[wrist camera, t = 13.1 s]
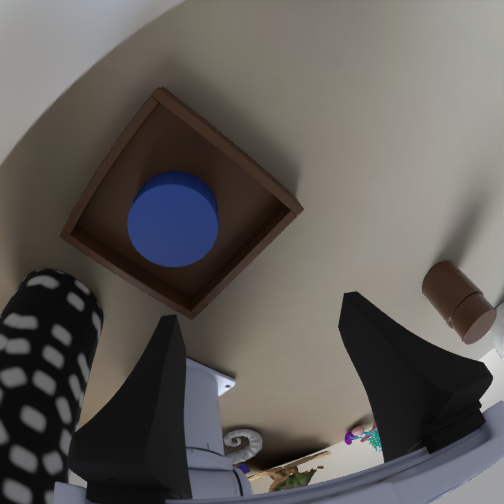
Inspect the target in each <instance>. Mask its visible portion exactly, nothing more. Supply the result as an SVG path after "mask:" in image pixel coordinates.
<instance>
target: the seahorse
mask: <svg viewBox="0 0 504 504" xmlns="http://www.w3.org/2000/svg"><path fill="white" fill-rule="evenodd" d="M235 436H245V437H248V440H249V445H247V446H246V447H245V448H244V449H239V450H238V451H235V452H233V451H232V452H231V453H224V455H225V457H228V458H232V464H237V463H240V462H242V461H246V460H248V459H250V458H251V457H252V456H255V454H256V453H258V452H259V450H261V449H262V438H261V436H260V434H258V433H257V432H255V431H253V430H249V429H240V430H238V429H237V430H235V431H233V432H229V433H228V434H227V435H226V436H225V437H224V442H225V445H226V446H233V447H235V446H238V445H240V444H241V440H240V439H239V438H236V439H237V440H238V441H237V442H232V440H231V439H232V438H235Z"/></svg>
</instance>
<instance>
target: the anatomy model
mask: <svg viewBox="0 0 504 504" xmlns="http://www.w3.org/2000/svg"><path fill="white" fill-rule="evenodd" d="M362 434H366V436H365V437H364V438H363V437H358V435H362ZM377 434H379V433H378V429H377V425H376V422H375V423H374V425H373V429H372V430H370V431H369V432H364V427H363V426H357V427H355V428H353V429H352V431H351V432H350V431H348V432H347V434H346V436H345V443H347V444H348V445H350V444H351V443H352V440H354V439H358V438H362V440H361V442H364V441H367V440H368V441H370V443H372V442H371V441H372V440H373V439H374V440H373V443H372V445H373V446H374V448H375V449H376V446H379V448H380V447H381V442H380V438H379V435H378V437H377ZM370 436H373V437H372V438H369V437H370ZM357 437H358V438H357ZM367 438H369V439H367ZM375 439H376V440H377V441H378V442H377V443H378V444H377V443H376V442H375V441H376V440H375ZM350 441H351V442H350ZM370 443H369V444H370ZM379 443H380V445H379ZM381 448H382V447H381ZM376 450H377V449H376Z"/></svg>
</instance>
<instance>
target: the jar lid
mask: <svg viewBox="0 0 504 504" xmlns="http://www.w3.org/2000/svg"><path fill="white" fill-rule="evenodd" d="M132 204H133V205H132V207H131V209H130V211H129V213H128V214H129V215H128V222H127V227H128V233H129V237H130V239H131V242H132V244H133V245H134V247H135V248H136V249H137V251H138V252H139V253H140V254H141V255H142V256H143V257H145V258H146V259H148V260H149V261H151V262H153V263H156V264H158V265H162V266H167V267H181V266H186V265H190V264H192V263H194V262H196V261H198V260H200V259H201V258H202V257H204V256H205V255H206V254H207V253H208V252H209V251H210V249H211V248H212V246H213V245H214V242H215V240H216V237H217V232H218V226H219V219H218V208H217V201H215V198H214V196H213V191H212V192H211V190H210V189H209V187H208V186H207V183H204V182H203V181H202V180H201V179H199V178H198V176H194V175H192V174H189V173H188V172H180V171H176V170H175V171H171V172H163V173H162V174H159V175H157V176H153V177H152V179H150V180H149V181H148V182H147V183H146V182H145V183H144V185H143V187H142V188H141V190H140V191H138V193H137V195H136V197H135V199H134V200H133V202H132Z"/></svg>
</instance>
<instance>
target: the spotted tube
mask: <svg viewBox="0 0 504 504" xmlns="http://www.w3.org/2000/svg"><path fill="white" fill-rule="evenodd" d="M102 327H103V313H102V310H101V307H100V305H99V303H98V301H97V299H96V298H95V297H94V295H93V294H92V293H91V291H90V290H89V289H88V288H87V287H86V286H85V285H84V284H82V283H81V282H79V281H78V280H77V279H75V278H74V277H72V276H70V275H68V274H66V273H63V272H60V271H57V270H52V269H40V270H36V271H33V272H31V273H29V274H28V275H27V276H26V277H25V278H24V279H23V281H22V282H21V284H20V285H19V287H18V288H17V290H16V291H15V293H14V294H13V296H12V297H11V299H10V301H9V302H8V304H7V305H6V307H5V309H4V310H3V312H2V314H1V315H0V504H53V496H54V487H55V482H62V483H66V484H69V482H70V474H71V470H70V469H69V467H68V466H67V458H68V452H69V446H70V442H71V439H72V435H73V434H74V433H75V432H76V431H77V430H78V424H79V419H80V414H81V409H82V405H83V400H84V396H85V391H86V387H87V383H88V379H89V375H90V371H91V367H92V363H93V359H94V355H95V352H96V348H97V345H98V341H99V338H100V334H101V331H102Z"/></svg>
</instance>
